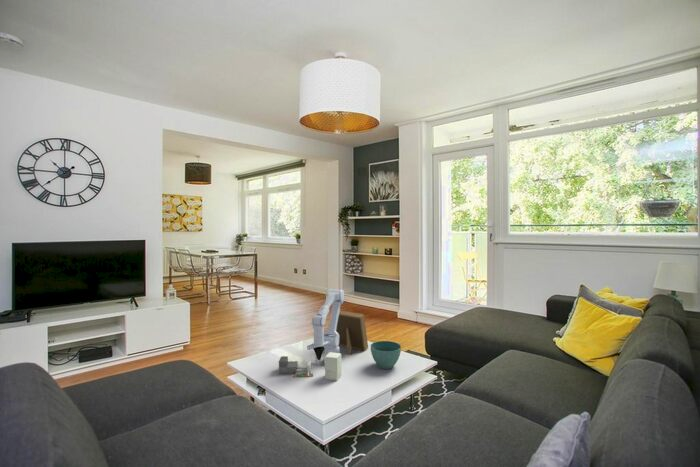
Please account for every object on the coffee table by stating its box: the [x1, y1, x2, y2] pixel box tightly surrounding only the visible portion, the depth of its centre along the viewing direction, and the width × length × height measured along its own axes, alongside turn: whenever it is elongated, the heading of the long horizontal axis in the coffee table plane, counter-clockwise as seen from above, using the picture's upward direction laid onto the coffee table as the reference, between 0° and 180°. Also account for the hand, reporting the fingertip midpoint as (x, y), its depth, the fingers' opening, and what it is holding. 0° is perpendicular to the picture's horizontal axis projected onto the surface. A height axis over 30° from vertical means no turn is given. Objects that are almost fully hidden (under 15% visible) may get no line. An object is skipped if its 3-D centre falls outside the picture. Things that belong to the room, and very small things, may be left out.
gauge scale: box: [292, 372, 314, 378], centre depth 196 cm, size 11×4×1 cm, turn 92°
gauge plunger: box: [297, 360, 312, 376], centre depth 200 cm, size 11×12×4 cm
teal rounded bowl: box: [369, 340, 402, 370], centre depth 209 cm, size 18×18×12 cm
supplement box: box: [324, 352, 343, 381], centre depth 194 cm, size 7×7×13 cm
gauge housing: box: [278, 355, 299, 375], centre depth 202 cm, size 10×8×7 cm
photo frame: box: [336, 310, 369, 355], centre depth 236 cm, size 15×22×25 cm
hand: (318, 359), depth 202 cm, fingers closed
